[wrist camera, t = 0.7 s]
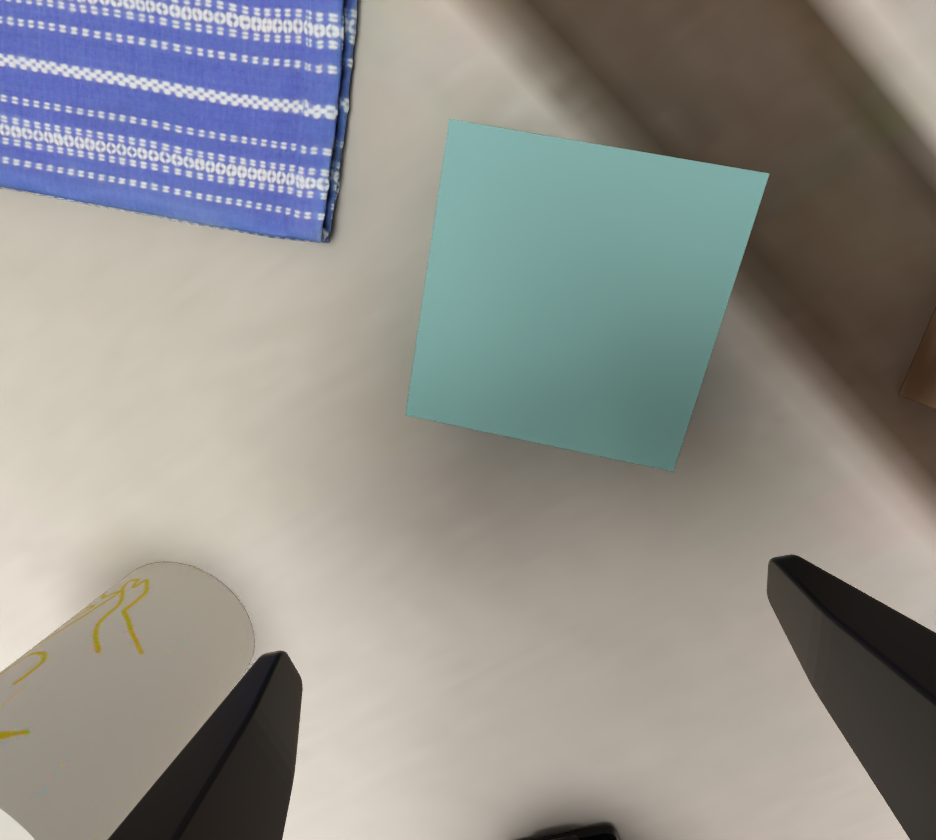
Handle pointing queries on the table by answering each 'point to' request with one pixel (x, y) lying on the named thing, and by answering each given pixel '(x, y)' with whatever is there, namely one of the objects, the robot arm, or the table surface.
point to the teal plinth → (576, 290)
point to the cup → (115, 700)
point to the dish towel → (180, 108)
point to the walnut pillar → (923, 370)
